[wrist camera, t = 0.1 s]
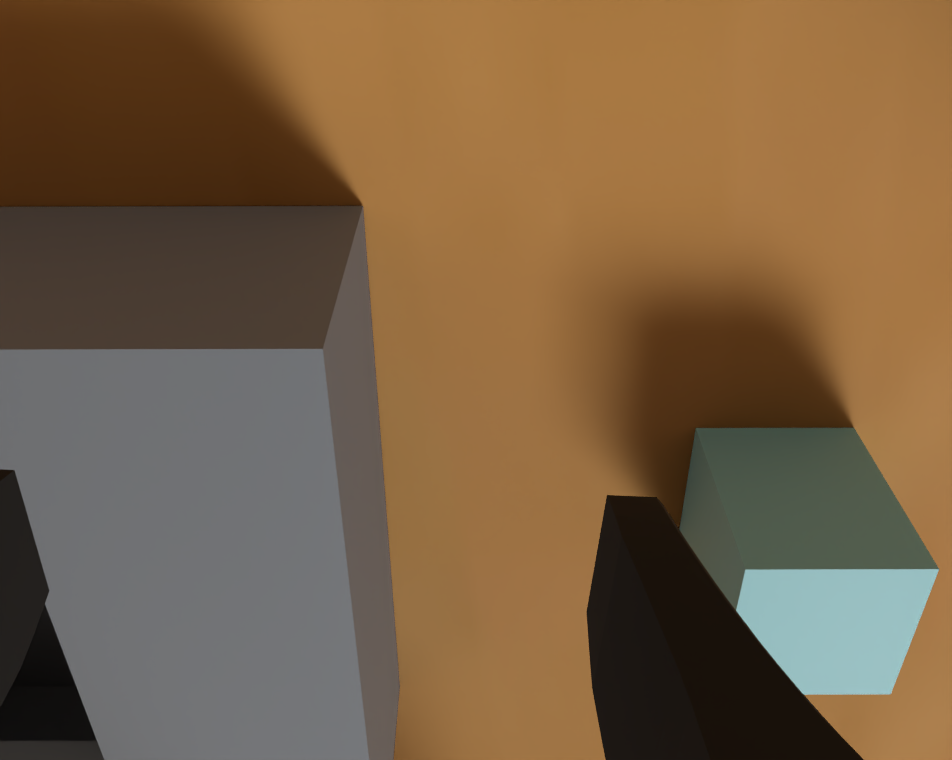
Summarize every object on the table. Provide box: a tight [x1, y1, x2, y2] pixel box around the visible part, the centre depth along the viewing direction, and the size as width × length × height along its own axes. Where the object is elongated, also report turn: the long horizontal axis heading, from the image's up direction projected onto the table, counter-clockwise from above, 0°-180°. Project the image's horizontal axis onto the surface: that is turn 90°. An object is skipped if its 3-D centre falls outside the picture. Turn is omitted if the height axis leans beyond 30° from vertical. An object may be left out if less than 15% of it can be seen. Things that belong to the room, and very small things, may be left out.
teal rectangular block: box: [679, 428, 939, 694], centre depth 22 cm, size 4×4×5 cm
